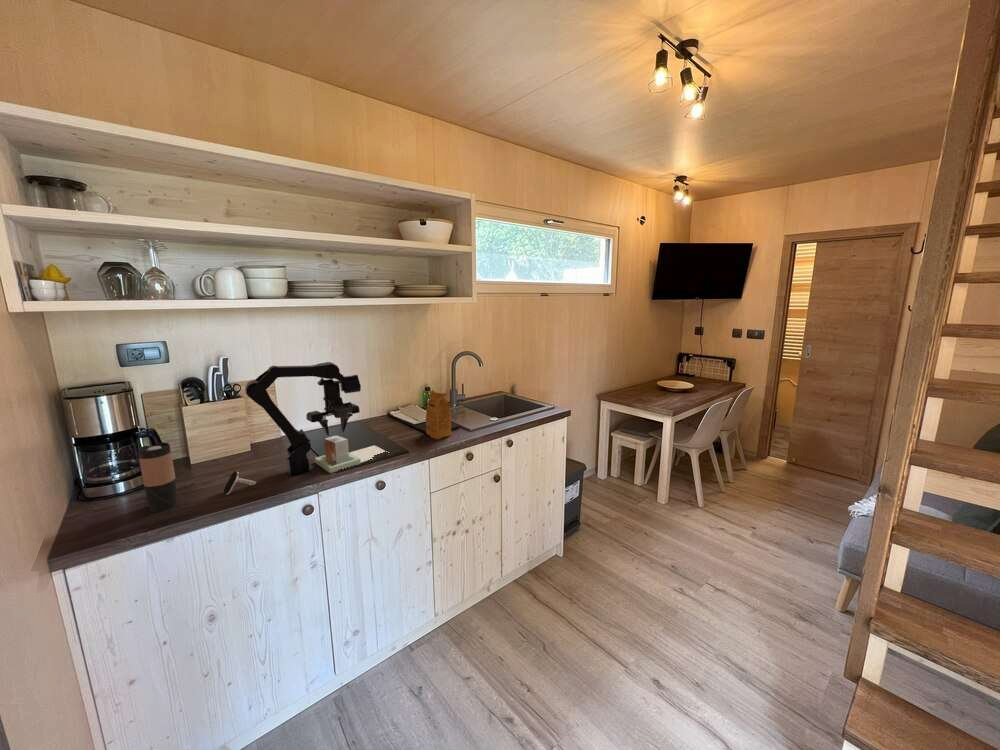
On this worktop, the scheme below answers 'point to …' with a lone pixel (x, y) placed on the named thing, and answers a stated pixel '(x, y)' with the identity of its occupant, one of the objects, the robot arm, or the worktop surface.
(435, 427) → the coffee package
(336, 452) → the small box
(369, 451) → the plate
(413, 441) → the worktop surface
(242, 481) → the rubber stamp
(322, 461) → the pocket frame
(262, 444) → the worktop surface
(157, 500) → the travel mug
